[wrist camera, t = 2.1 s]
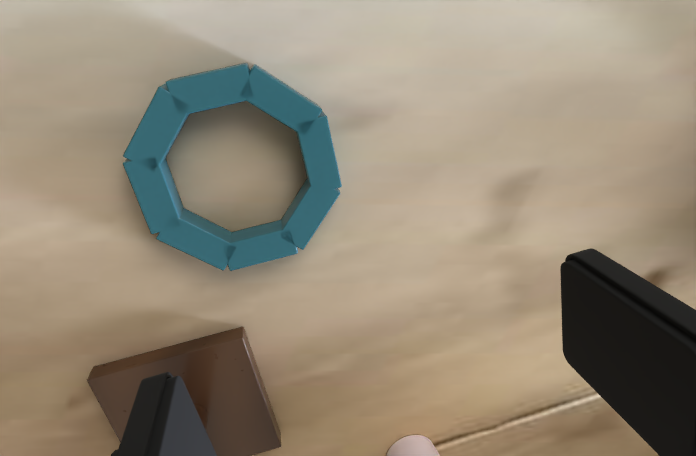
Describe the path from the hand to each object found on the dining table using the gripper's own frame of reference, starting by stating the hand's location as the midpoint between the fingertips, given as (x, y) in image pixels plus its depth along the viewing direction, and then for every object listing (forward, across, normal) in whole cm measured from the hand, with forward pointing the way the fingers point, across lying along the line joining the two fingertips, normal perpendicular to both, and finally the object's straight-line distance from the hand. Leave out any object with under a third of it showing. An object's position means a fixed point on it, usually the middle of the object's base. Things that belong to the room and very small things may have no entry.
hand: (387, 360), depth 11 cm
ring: (+16, +4, -2) cm, 16 cm away
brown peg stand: (+16, +11, +12) cm, 23 cm away
